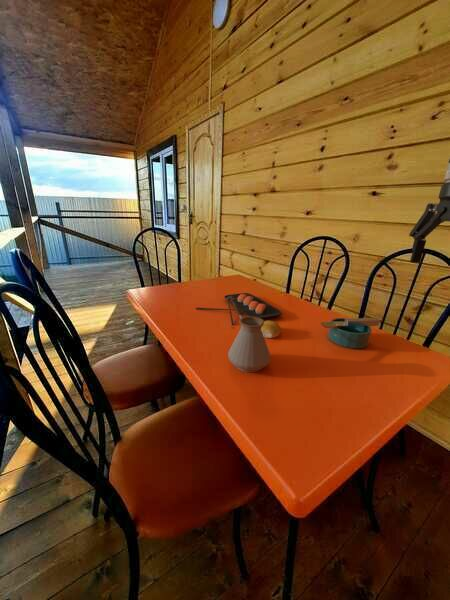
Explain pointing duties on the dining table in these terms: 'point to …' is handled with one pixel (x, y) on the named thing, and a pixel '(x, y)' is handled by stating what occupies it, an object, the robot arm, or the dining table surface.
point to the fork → (352, 323)
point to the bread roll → (270, 329)
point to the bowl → (350, 335)
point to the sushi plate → (250, 306)
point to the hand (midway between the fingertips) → (435, 267)
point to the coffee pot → (249, 344)
